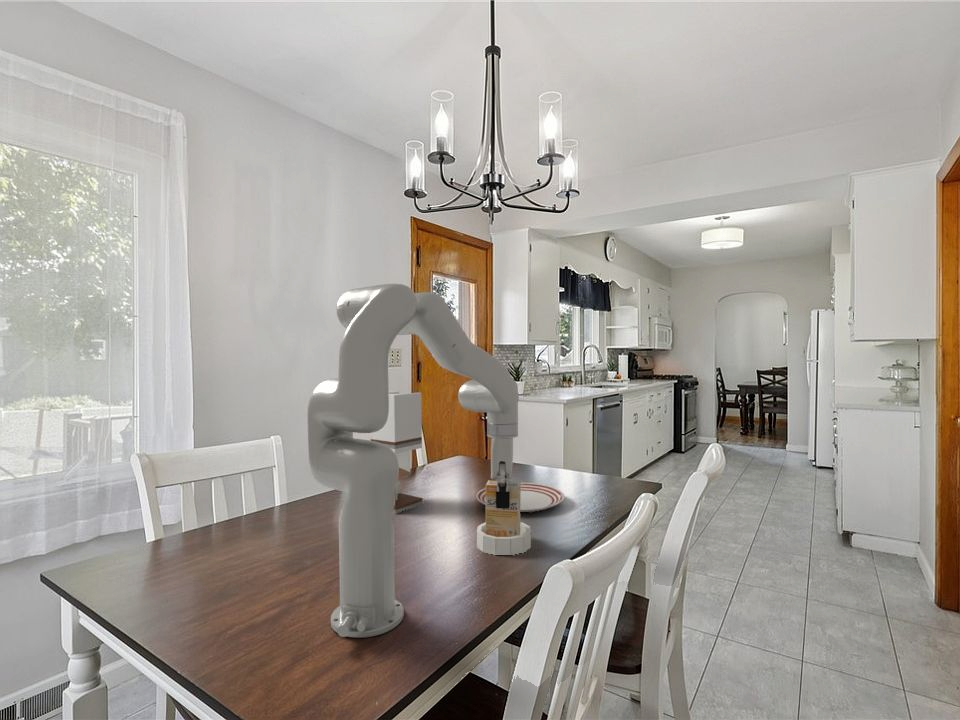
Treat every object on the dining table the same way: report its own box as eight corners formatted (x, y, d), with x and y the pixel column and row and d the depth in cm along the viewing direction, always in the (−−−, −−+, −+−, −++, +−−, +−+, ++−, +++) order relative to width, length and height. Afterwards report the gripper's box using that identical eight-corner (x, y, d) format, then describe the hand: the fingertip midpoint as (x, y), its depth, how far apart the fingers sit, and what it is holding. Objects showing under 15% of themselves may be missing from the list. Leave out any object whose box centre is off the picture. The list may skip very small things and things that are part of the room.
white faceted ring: (531, 556, 116) (531, 538, 116) (475, 555, 117) (475, 538, 117) (529, 535, 129) (529, 520, 129) (479, 535, 130) (479, 519, 130)
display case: (395, 514, 148) (394, 395, 148) (371, 507, 154) (370, 393, 154) (422, 504, 157) (421, 392, 157) (398, 499, 164) (397, 391, 163)
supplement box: (484, 538, 121) (484, 484, 121) (488, 531, 126) (487, 479, 126) (519, 540, 120) (518, 485, 120) (521, 533, 125) (520, 480, 125)
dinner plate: (555, 522, 140) (555, 510, 140) (463, 513, 149) (463, 502, 149) (571, 495, 166) (570, 485, 166) (491, 489, 175) (491, 479, 175)
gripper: (488, 425, 132) (489, 494, 132) (485, 435, 115) (485, 515, 115) (517, 425, 131) (518, 495, 131) (518, 435, 114) (518, 515, 114)
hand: (503, 503), depth 123 cm, fingers closed on supplement box, 5 cm apart
